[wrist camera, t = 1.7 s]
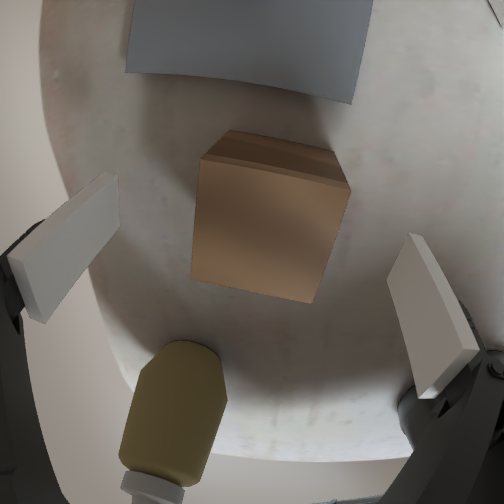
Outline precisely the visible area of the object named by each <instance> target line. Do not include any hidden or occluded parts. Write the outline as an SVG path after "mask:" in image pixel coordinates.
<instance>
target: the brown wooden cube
mask: <svg viewBox="0 0 504 504" xmlns="http://www.w3.org/2000/svg"><path fill="white" fill-rule="evenodd" d="M350 193H351V189H350V187H349V184H348V182H347V180H346V177H345V175H344V173H343V171H342V168H341V166H340V164H339V162H338V160H337V157H336V155H335V153H334V152H333V151H329V150H325V149H321V148H316V147H312V146H308V145H304V144H299V143H295V142H290V141H285V140H280V139H275V138H270V137H265V136H260V135H255V134H249V133H243V132H238V131H231V130H229V131H228V132H227V133H226V134H225V135H224V136H223V137H222V138H221V139H220V140H219V141H218V142H217V143H216V144H215V145H214V146H213V147H212V148H211V149H210V150H209V151H208V152H207V153H206V154H205V155H204V156H203V157H202V158H201V159H200V167H199V176H198V187H197V197H196V209H195V221H194V233H193V247H192V262H191V279H193V280H197V281H202V282H206V283H211V284H215V285H220V286H225V287H229V288H234V289H239V290H244V291H249V292H253V293H258V294H263V295H268V296H273V297H278V298H283V299H289V300H294V301H299V302H304V303H310V304H312V302H313V300H314V297H315V294H316V292H317V289H318V286H319V284H320V281H321V278H322V276H323V273H324V270H325V267H326V264H327V262H328V259H329V256H330V253H331V250H332V247H333V245H334V242H335V239H336V236H337V233H338V230H339V227H340V224H341V221H342V218H343V215H344V212H345V209H346V206H347V202H348V199H349V196H350Z"/></svg>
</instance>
